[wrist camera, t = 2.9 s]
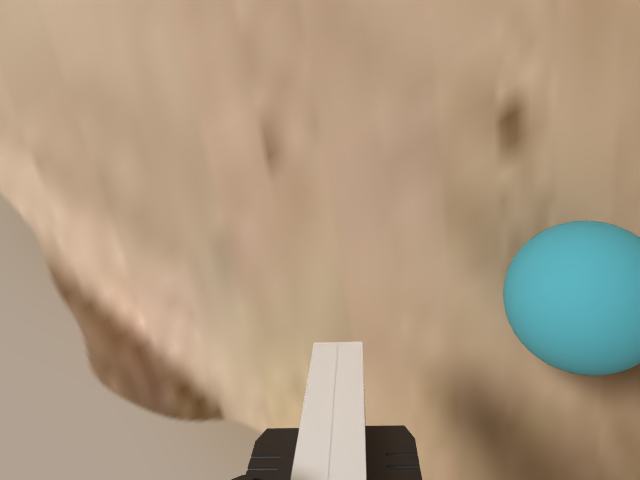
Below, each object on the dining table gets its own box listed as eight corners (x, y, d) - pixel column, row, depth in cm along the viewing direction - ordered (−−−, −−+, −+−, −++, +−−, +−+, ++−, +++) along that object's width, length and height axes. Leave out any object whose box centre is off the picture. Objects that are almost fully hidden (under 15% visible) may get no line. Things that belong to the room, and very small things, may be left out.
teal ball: (463, 251, 23) (498, 303, 18) (588, 180, 22) (670, 210, 16) (526, 354, 25) (579, 434, 19) (648, 291, 23) (744, 356, 18)
